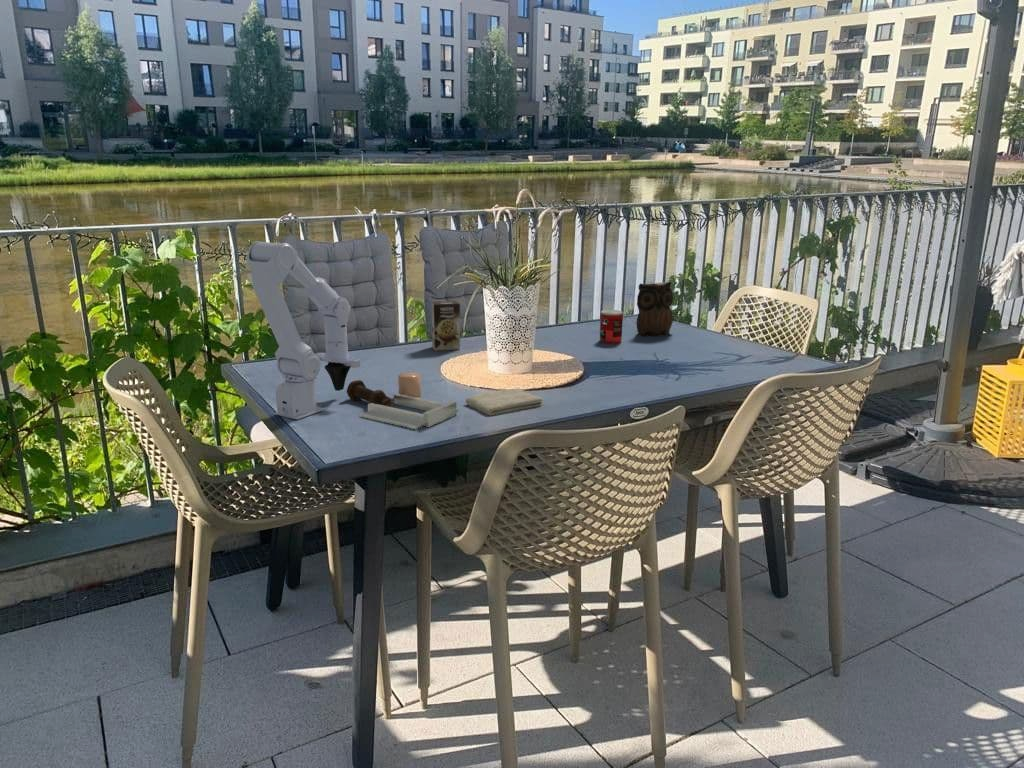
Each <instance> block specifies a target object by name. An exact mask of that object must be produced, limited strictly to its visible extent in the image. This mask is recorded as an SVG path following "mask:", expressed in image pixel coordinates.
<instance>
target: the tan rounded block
mask: <svg viewBox="0 0 1024 768" xmlns="http://www.w3.org/2000/svg"><path fill="white" fill-rule="evenodd" d="M397 376H398V377H397V381H398V394H402V395H407V396H412V397H417V398H421V397H422V391H421V389H422V388H421V373H418V372H410V371H409V372H408V371H407V372H402V373H400V374H398V375H397Z"/></svg>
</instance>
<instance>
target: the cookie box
mask: <svg viewBox="0 0 1024 768" xmlns="http://www.w3.org/2000/svg"><path fill="white" fill-rule="evenodd" d="M431 344H432V345H431V347H432V349H433V351H435V352H436V351H454V350H455V351H456V350H461V304H460V302H458V301H456V300H455V301H454V300H453V301H451V300H450V301H449V300H448V301H431Z"/></svg>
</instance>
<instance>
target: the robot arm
mask: <svg viewBox="0 0 1024 768" xmlns="http://www.w3.org/2000/svg"><path fill="white" fill-rule="evenodd" d="M245 260H246V262H247V265H248V267H249V269H250V273H251V274H250V275H251V284H252V288H253V291H254V293H255V295H256V298H257V300H258V302H259V306H260V307H261V309H262V312H263V314H264V316H265V318H266V319H267V322H268V325H269V327H270V329H271V331H272V333H273V335H274V338H275V340H276V343H277V345H278V348H277V349H276V351H275V352H274V355H275V357H276V367H277V371H278V372H279V373H280V374H281V375H282V379H284V381H283V382H282V383H280V384H278V385H277V387H276V388H275V389H276V390H275V397H276V412H275V415H277V416H281V417H285V418H288V419H293V420H301V419H303V418H306V417H309V416H312V415H314V414H317V413H319V412H323V411H325V408H324V407H320V406H318V405H317V394H316V381H315V380H316V379H318V378H317V377H318V375H319V374H320V371H321V367H322V365H321V362H326V363H327V364H326V365H324V369H325V371H326V372H327V374H328V375H329V377H330V380H331V382H332V385H333V389H334V391H337V392H339V391H342V390H345V389H344V388H345V385H346V378H347V376H348V374H349V371H350V369H351V367H352V368H353V369H357V368H360V367H361V359H359V358H358V359H357V358H356V357H353V356H351V354H350V353H349V348H348V347H349V346H348V330H347V329H348V328H347V325H348V322H349V315H350V313H351V305H350V304H349V303H350V302H349V301H348V300H347V299H346V298H345V297H344V296H339V294H338V293H337V291H336V290H335V289H333V288H332V287H331V286H330V285H329V284H328V281H327V280H326V278H322V277H317V276H316V277H315V275H314V274H313V273H312V272H311V271H310V270H309V269H308V267H307V266H306V265H305V263H303V261H302V260H301V259H300V257H299V254H298V251H297V250H296V249H294V248H293V246H292V245H291V244H290V243H288V242H281V243H280V242H268V241H266V242H265V241H262V240H260V241H259V240H257V241H254V242H253V243H252V244H250V246H249V248H248V252H247V254H246V256H245ZM288 275H289V276H292V278H294V279H295V280H296V281H297V282H299V283H300V284H301V285H302V286H303V287H304V294H305V295H306V296H307V297H308V298H309V299H310V301H312V302H313V303H314V304H315V305H316V306H317V310H318V311H317V312H318V314H319V315H321V316H323V324H324V340H325V342H324V343H325V352H317V353H314V351H313V349H312V347H310V346H309V345H308V344H306V343H305V342H304V341H303V340H302V338H301V337H300V336H301V335H300V334H299V331H298V329H297V327H296V323H295V321H294V320H293V317H292V315H291V312H290V310H289V308H288V305H287V303H286V301H285V297H284V296H283V293H282V290H281V289H280V285H281V284H282V283H283V282H284V281H285V279H286V278H287V276H288Z"/></svg>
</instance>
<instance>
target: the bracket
mask: <svg viewBox="0 0 1024 768" xmlns="http://www.w3.org/2000/svg"><path fill="white" fill-rule="evenodd" d="M393 403H394V405H398V406H402V407H403V406H404V407H407V408H411V409H416V410H421V411H425V412H423V413H419V412H416V411H415V412H414V411H410V410H406V409H401V408H396V407H392V406H390V407H388V406H384V405H379V404H375V403H368V404H367V411H366V412H363V413H360V414H359V417H360V418H363V419H367V418H368V420H372V421H377V422H380V423H384V422H385V423H384V424H388V423H389V425H392V424H394V425H393V426H397V425H398V426H397V427H401V426H403V427H402V428H405V427H407V428H406V429H409V428H411V429H410V430H413V429H415V430H414V431H417V430H419V429H421V428H423V427H422V426H426V427H425V428H427V427H429V428H431V427H433V426H435V425H434V424H436V425H438V424H440V423H442V422H444V420H445V421H447V420H449V419H451V418H454V417H456V416H457V413H458V412H460V408H457V401H453V400H451V401H448V402H446V403H444V402H440V401H435V400H431V399H425V398H421V397H420V398H417V397H412V396H407V395H402V394H399V392H398V393H395V394H393ZM455 415H456V416H455ZM453 416H454V417H453ZM446 419H447V420H446ZM439 422H440V423H439ZM437 423H438V424H437ZM432 425H433V426H432ZM430 426H431V427H430ZM420 427H421V428H420ZM418 428H419V429H418ZM416 429H417V430H416Z"/></svg>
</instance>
